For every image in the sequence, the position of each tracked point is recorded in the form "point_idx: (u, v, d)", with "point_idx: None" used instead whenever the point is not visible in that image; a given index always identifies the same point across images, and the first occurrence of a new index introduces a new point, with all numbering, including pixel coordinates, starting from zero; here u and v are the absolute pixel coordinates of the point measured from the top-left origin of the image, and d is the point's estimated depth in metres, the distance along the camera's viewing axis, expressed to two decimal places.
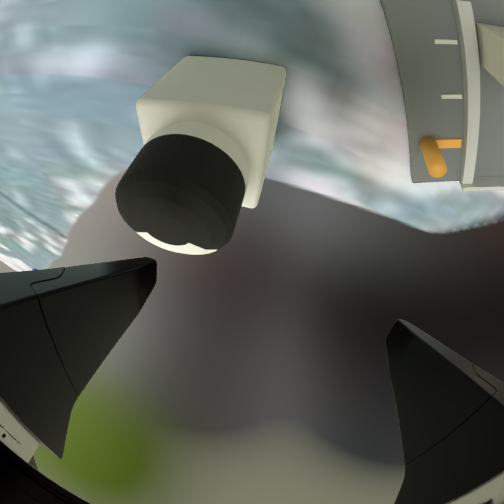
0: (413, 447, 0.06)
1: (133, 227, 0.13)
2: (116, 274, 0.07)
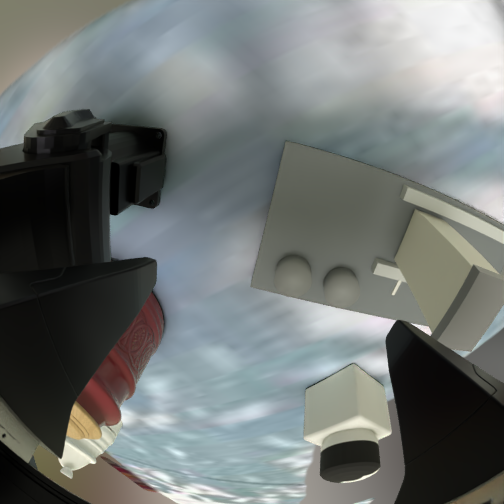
0: (413, 447, 0.06)
1: (337, 482, 0.20)
2: (116, 274, 0.07)
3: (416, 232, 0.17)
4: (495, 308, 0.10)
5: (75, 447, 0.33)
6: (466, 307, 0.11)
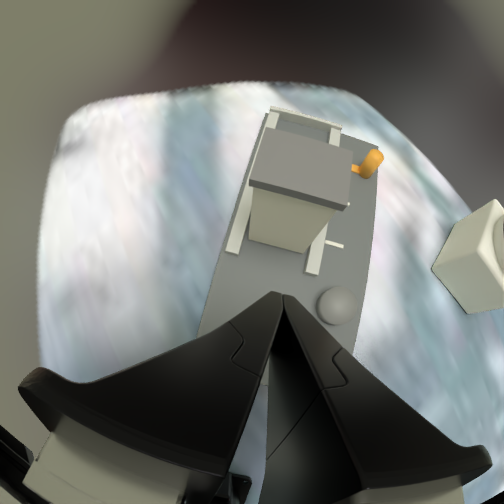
0: None
1: None
2: (279, 321, 0.07)
3: (266, 237, 0.21)
4: (295, 140, 0.14)
5: None
6: (293, 180, 0.13)
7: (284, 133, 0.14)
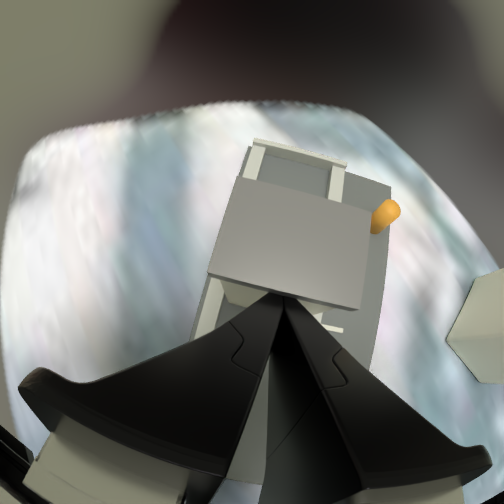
0: None
1: None
2: (280, 321, 0.07)
3: (249, 305, 0.16)
4: (282, 199, 0.09)
5: None
6: (276, 272, 0.08)
7: (266, 186, 0.09)
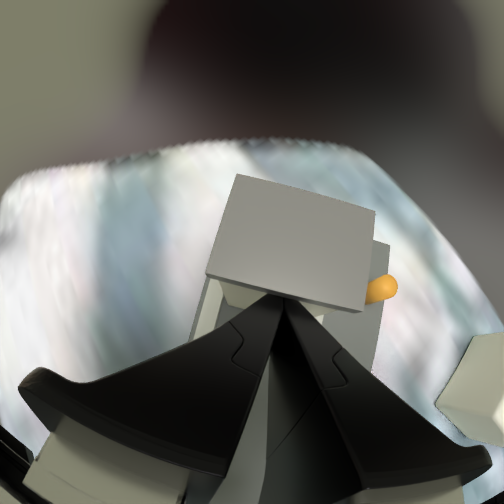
0: None
1: None
2: (279, 321, 0.07)
3: None
4: (283, 197, 0.09)
5: None
6: (277, 273, 0.08)
7: (266, 185, 0.09)
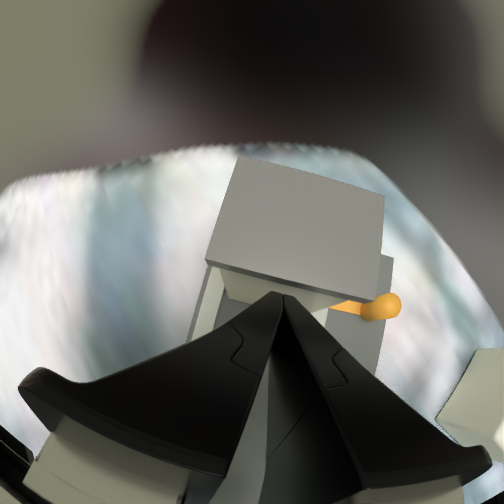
0: None
1: None
2: (279, 321, 0.07)
3: (251, 301, 0.15)
4: (288, 179, 0.08)
5: None
6: (283, 259, 0.08)
7: (270, 167, 0.08)
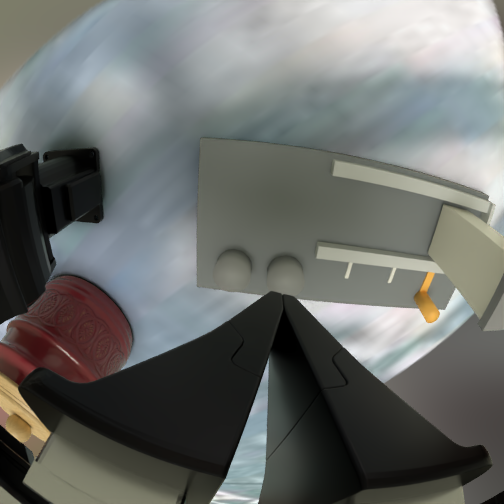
0: None
1: None
2: (279, 321, 0.07)
3: (448, 226, 0.17)
4: None
5: None
6: None
7: None
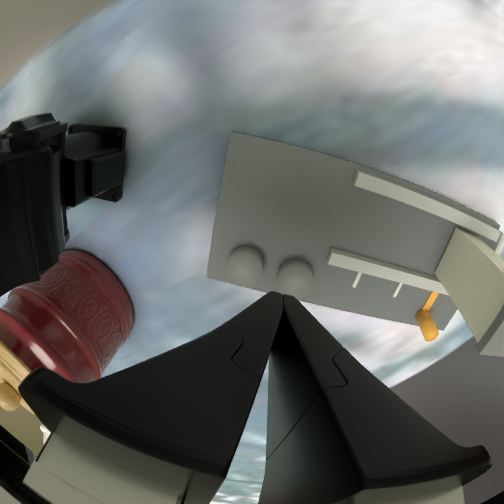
0: None
1: None
2: (279, 321, 0.07)
3: (458, 249, 0.17)
4: None
5: None
6: None
7: None
